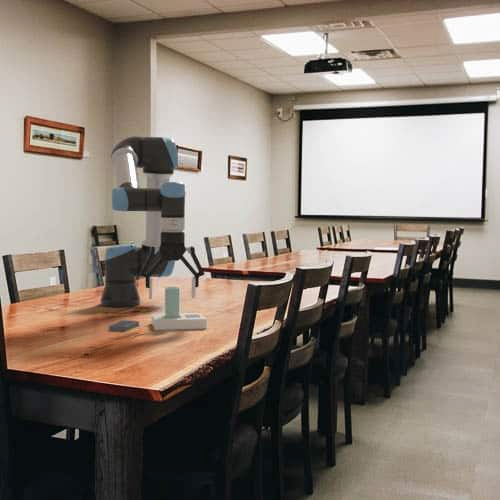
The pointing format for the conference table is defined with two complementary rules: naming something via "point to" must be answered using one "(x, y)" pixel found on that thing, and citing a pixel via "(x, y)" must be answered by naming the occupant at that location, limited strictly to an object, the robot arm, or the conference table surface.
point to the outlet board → (179, 321)
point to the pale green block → (171, 302)
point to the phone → (123, 325)
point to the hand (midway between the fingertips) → (172, 298)
